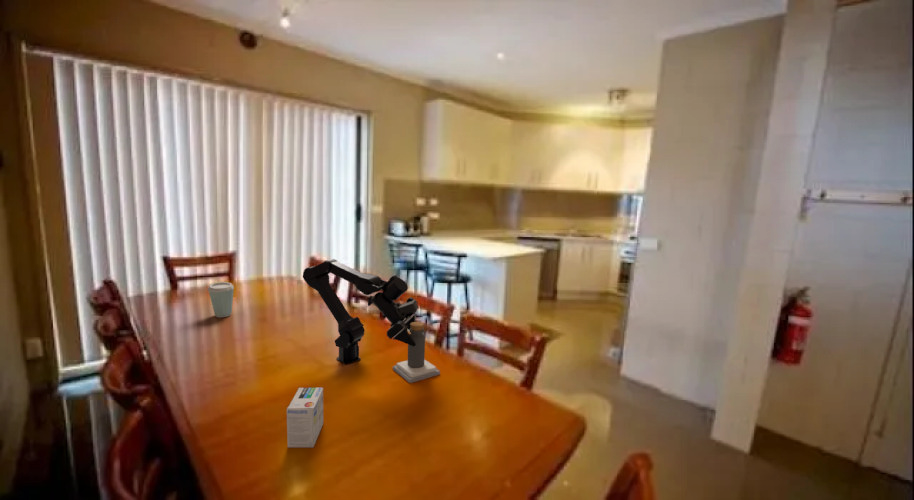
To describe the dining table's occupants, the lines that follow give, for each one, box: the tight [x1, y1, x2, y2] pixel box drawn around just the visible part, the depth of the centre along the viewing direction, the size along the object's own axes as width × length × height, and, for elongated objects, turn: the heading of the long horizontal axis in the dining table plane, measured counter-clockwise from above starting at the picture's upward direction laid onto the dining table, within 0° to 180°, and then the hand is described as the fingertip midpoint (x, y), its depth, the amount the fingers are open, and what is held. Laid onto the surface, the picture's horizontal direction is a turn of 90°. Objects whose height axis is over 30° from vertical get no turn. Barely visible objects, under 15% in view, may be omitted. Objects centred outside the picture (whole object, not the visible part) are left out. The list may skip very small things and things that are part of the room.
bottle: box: [407, 321, 426, 368], centre depth 146 cm, size 6×6×15 cm
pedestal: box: [392, 358, 441, 384], centre depth 147 cm, size 12×12×2 cm
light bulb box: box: [286, 387, 324, 448], centre depth 108 cm, size 11×7×11 cm, turn 5°
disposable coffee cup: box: [207, 281, 235, 318], centre depth 193 cm, size 11×11×15 cm
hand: (418, 340), depth 145 cm, fingers open, 9 cm apart
